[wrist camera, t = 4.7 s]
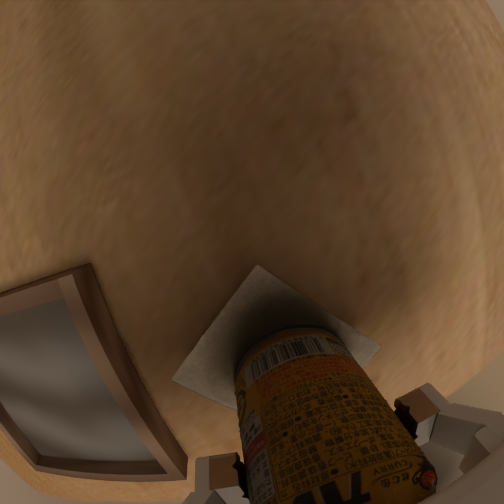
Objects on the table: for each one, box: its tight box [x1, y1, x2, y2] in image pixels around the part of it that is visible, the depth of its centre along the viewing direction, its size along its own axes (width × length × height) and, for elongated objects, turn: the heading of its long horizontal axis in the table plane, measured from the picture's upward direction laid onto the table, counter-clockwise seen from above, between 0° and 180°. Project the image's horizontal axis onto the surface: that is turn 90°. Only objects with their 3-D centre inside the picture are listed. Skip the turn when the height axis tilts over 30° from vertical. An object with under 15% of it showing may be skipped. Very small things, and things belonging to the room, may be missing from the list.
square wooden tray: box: [0, 263, 188, 482], centre depth 14 cm, size 16×16×2 cm
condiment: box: [171, 265, 438, 504], centre depth 8 cm, size 7×8×12 cm
